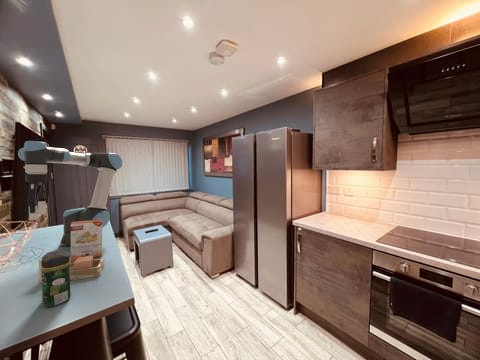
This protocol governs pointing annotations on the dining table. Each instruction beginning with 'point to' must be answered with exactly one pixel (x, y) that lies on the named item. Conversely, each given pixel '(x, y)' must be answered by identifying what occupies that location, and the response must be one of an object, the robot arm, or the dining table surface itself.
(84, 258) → the corded block
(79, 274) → the frame
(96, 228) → the cracker box
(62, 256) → the coffee jar
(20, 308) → the dining table surface
